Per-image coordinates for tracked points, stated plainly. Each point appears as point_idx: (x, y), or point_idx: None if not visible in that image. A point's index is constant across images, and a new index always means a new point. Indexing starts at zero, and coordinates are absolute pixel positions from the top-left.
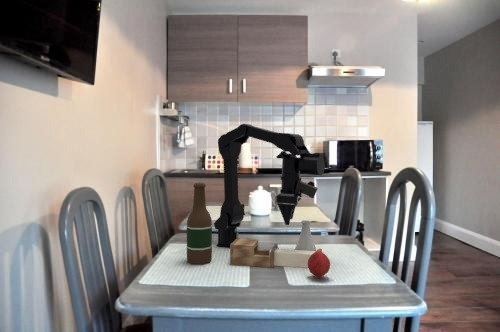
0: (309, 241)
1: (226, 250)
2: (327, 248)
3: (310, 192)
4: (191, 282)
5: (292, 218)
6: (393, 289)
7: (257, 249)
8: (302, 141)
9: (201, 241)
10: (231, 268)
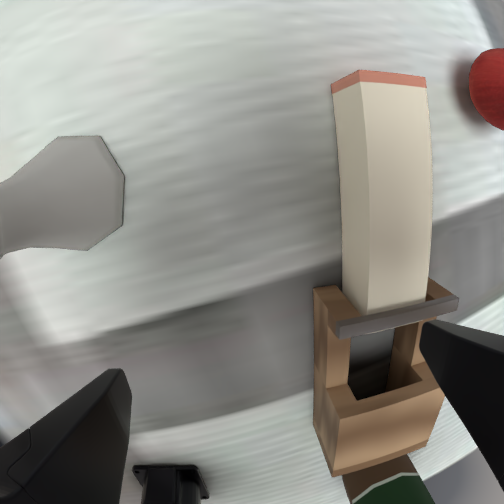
0: (73, 167)
1: (240, 468)
2: (17, 94)
3: None
4: None
5: (108, 370)
6: None
7: (346, 385)
8: None
9: (427, 490)
10: None
